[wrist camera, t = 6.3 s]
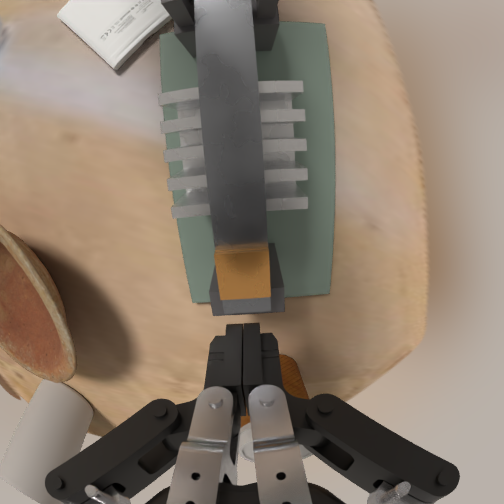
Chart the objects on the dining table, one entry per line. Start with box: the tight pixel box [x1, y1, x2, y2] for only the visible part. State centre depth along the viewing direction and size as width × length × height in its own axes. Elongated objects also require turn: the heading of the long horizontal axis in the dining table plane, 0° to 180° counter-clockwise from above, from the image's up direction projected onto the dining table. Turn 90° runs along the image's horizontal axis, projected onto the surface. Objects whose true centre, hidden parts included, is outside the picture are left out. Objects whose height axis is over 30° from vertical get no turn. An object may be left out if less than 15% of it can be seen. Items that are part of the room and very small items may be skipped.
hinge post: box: [161, 0, 280, 57], centre depth 12 cm, size 5×6×11 cm
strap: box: [189, 0, 271, 314], centre depth 13 cm, size 21×4×2 cm, turn 4°
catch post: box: [209, 243, 285, 316], centre depth 22 cm, size 2×5×8 cm, turn 94°
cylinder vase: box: [0, 379, 93, 504], centre depth 27 cm, size 12×12×25 cm
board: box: [160, 21, 335, 303], centre depth 22 cm, size 26×14×1 cm, turn 4°
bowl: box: [0, 225, 77, 383], centre depth 24 cm, size 24×24×8 cm
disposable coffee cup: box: [238, 354, 313, 462], centre depth 28 cm, size 10×10×12 cm
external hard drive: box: [57, 0, 172, 70], centre depth 15 cm, size 2×8×12 cm
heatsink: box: [158, 81, 308, 219], centre depth 18 cm, size 8×8×8 cm
